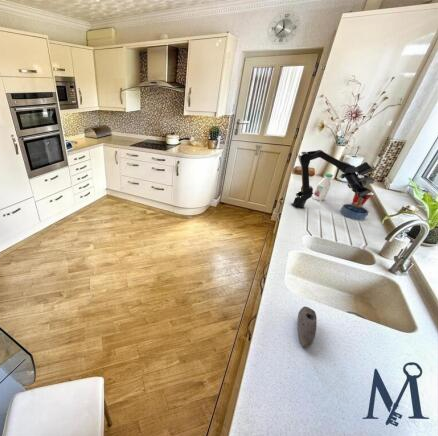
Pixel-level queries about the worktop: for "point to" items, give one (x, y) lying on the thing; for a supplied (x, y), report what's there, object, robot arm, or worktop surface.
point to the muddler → (358, 203)
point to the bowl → (354, 212)
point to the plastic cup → (363, 199)
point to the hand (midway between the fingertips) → (364, 197)
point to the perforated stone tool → (306, 326)
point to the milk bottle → (323, 187)
